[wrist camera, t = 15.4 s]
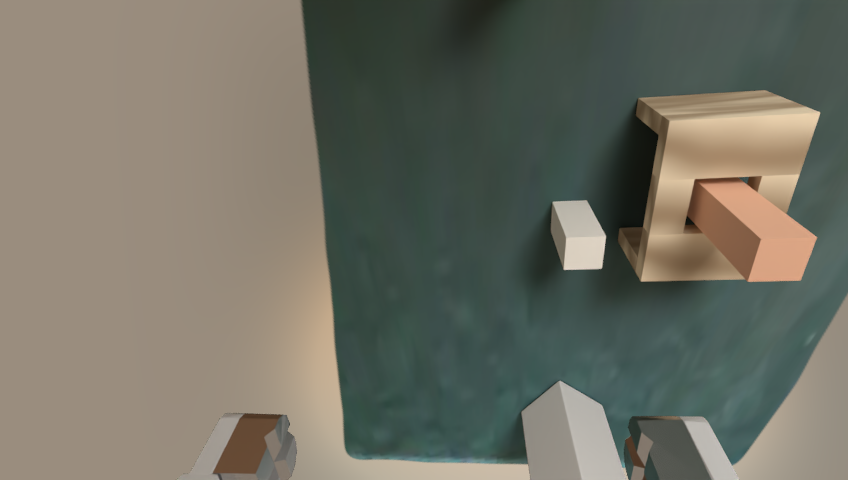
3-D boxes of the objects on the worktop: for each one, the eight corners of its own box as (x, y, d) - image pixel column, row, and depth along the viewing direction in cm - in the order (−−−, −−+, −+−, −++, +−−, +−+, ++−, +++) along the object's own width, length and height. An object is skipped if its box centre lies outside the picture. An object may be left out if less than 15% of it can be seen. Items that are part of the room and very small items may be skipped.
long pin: (669, 156, 42) (761, 239, 29) (706, 154, 42) (816, 237, 29) (662, 189, 44) (747, 281, 31) (699, 187, 43) (800, 280, 30)
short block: (552, 201, 45) (566, 237, 39) (586, 200, 45) (606, 236, 39) (550, 230, 47) (563, 269, 41) (583, 229, 46) (601, 268, 40)
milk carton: (563, 433, 61) (599, 603, 45) (520, 410, 60) (542, 577, 43) (602, 404, 58) (657, 575, 42) (558, 378, 56) (598, 546, 40)
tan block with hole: (638, 98, 40) (669, 121, 34) (764, 90, 39) (820, 112, 33) (617, 241, 47) (640, 281, 41) (724, 237, 46) (764, 278, 39)
